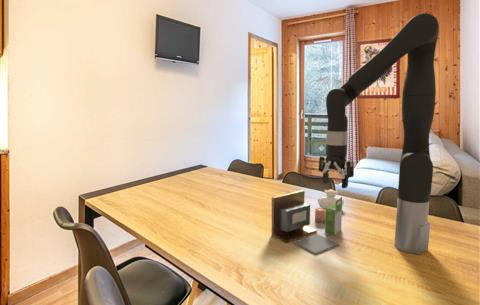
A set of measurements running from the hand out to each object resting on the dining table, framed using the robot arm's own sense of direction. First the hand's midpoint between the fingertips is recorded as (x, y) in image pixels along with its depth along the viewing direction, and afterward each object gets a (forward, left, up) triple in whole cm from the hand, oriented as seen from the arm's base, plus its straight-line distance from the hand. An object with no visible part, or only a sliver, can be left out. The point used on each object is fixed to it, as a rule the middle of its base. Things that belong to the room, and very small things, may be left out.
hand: (334, 185), depth 114 cm
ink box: (0, 0, -19) cm, 19 cm away
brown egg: (+10, -4, -18) cm, 21 cm away
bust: (+17, -19, -19) cm, 32 cm away
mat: (-4, +14, -18) cm, 23 cm away
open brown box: (+7, +14, -18) cm, 24 cm away
